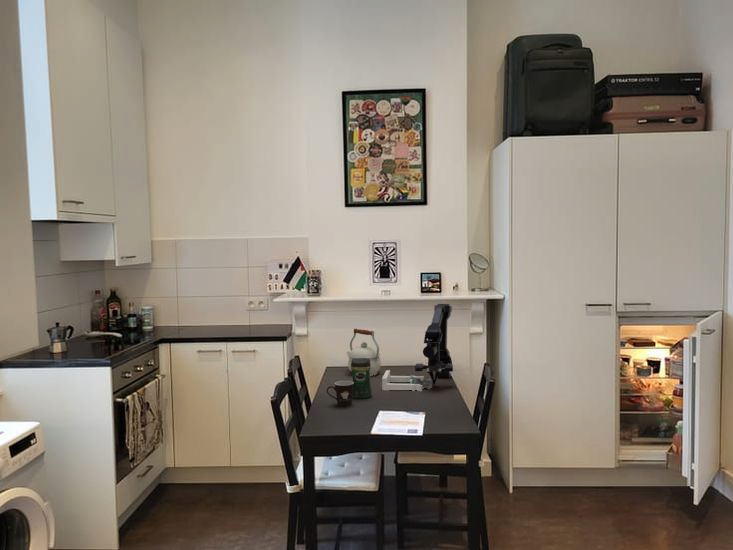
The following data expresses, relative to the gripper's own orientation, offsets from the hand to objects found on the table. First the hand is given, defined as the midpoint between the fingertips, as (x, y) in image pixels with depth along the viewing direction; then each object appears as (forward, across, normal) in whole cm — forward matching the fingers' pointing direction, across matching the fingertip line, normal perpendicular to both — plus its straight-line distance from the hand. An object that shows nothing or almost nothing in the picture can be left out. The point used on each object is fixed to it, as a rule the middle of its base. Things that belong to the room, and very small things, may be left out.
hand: (434, 384), depth 269 cm
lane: (+1, -16, 0) cm, 16 cm away
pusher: (+1, -11, 0) cm, 11 cm away
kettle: (+1, -40, +25) cm, 48 cm away
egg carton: (+2, -5, 0) cm, 5 cm away
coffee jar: (+1, -34, -20) cm, 39 cm away
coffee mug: (+1, -41, -33) cm, 52 cm away
